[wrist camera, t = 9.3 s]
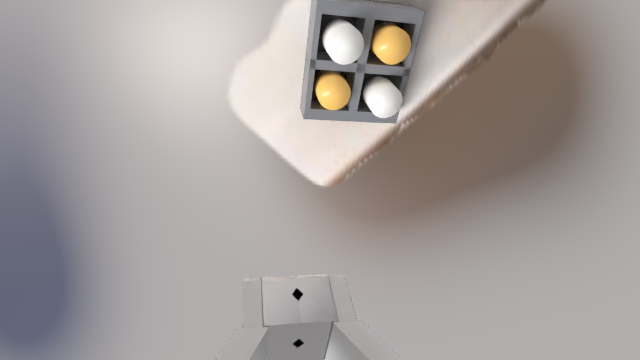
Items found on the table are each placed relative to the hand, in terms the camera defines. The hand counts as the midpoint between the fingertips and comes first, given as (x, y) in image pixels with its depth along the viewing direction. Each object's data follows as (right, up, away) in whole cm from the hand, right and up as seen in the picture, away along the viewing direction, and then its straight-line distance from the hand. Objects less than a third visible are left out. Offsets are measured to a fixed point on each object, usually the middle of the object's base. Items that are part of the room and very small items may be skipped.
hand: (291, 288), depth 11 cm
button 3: (+2, +15, +20) cm, 25 cm away
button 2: (+6, +11, +23) cm, 27 cm away
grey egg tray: (+4, +14, +23) cm, 28 cm away
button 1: (+2, +12, +23) cm, 26 cm away
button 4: (+7, +16, +22) cm, 28 cm away
